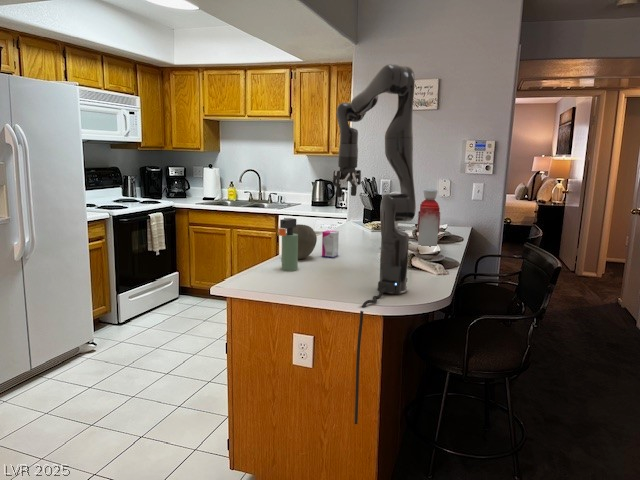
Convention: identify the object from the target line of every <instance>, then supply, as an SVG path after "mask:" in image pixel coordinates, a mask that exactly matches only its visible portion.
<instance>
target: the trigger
mask: <svg viewBox="0 0 640 480" xmlns="http://www.w3.org/2000/svg"><path fill="white" fill-rule="evenodd" d="M286 233H287V229H285V228H278V236H280V237H282V236H286Z"/></svg>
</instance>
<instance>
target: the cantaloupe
mask: <svg viewBox="0 0 640 480" xmlns="http://www.w3.org/2000/svg"><path fill="white" fill-rule="evenodd" d="M293 233H294V234H298V260H304V259H306V258H308V257H309V256H310V255H311V254H312V253H313V251H314V250H315V248H316V246H317V240H318V237H317V233H316V232H315V230H314V229H313V227H311V225H308V224H302V223H301V224H298V223H296V227H294V228H293Z"/></svg>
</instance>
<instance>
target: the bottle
mask: <svg viewBox="0 0 640 480" xmlns="http://www.w3.org/2000/svg"><path fill="white" fill-rule="evenodd" d="M438 192H439V191H438V189H435V188H424V189H423V197H424V200H423V201H421V203H420V204H419V211H417V225H416V226H417V228H416V232H417V233H418V235H417V239H416V240H417V246H418V245H421V246H429V247H431V246H437V247H438V242H439V241H438V238H439V234H440V229H441V228H440V226H441V212H440V210H441V209H440V205H439V203H438V202H437V200H436V198H437V195H438Z"/></svg>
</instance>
